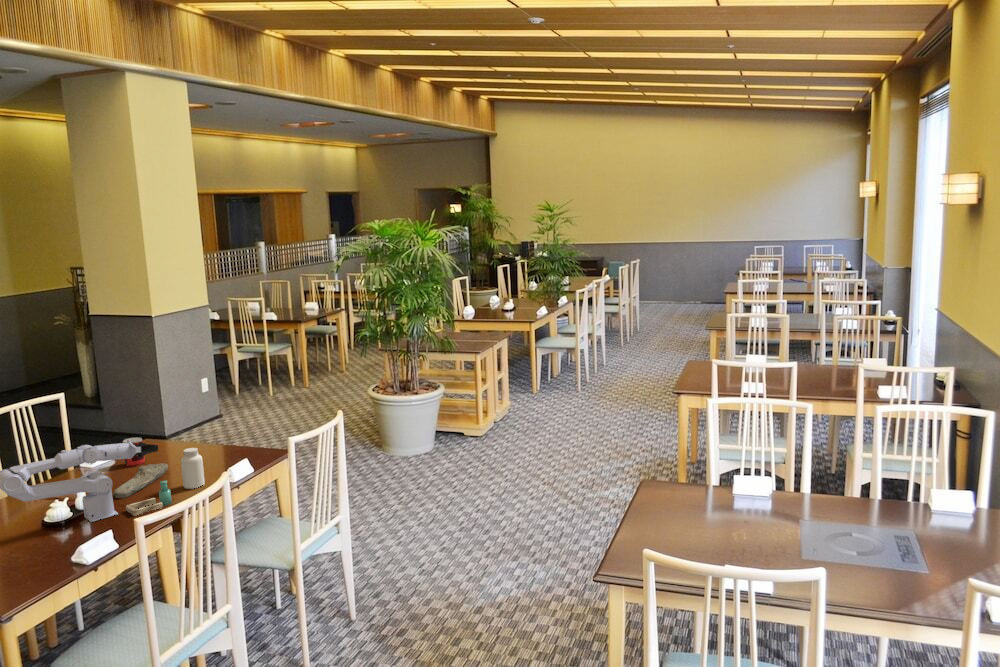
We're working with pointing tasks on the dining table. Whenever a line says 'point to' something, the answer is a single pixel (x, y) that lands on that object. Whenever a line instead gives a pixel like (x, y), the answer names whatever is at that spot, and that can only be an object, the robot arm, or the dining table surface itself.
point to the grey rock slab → (141, 479)
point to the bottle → (165, 494)
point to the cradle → (134, 507)
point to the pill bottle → (192, 469)
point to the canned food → (136, 459)
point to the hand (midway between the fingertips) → (153, 448)
